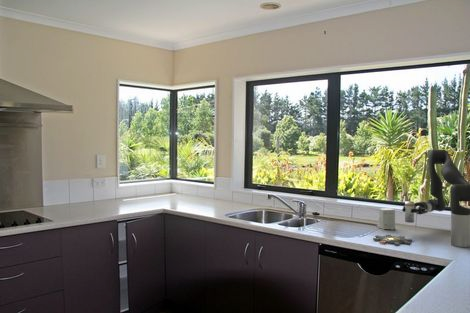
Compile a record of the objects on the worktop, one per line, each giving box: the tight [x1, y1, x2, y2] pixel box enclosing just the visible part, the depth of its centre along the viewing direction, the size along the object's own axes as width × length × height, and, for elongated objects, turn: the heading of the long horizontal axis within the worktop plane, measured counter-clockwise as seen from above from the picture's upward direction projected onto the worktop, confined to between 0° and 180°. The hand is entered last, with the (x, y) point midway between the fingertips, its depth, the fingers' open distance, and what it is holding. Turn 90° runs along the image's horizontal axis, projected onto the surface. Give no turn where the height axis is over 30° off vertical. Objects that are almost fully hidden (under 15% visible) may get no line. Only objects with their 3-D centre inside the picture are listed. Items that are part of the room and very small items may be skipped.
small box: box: [378, 207, 396, 230], centre depth 252 cm, size 8×6×13 cm
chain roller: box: [404, 200, 415, 224], centre depth 231 cm, size 5×5×12 cm
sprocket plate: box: [372, 234, 414, 247], centre depth 221 cm, size 21×21×2 cm
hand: (407, 210), depth 229 cm, fingers closed on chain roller, 5 cm apart
